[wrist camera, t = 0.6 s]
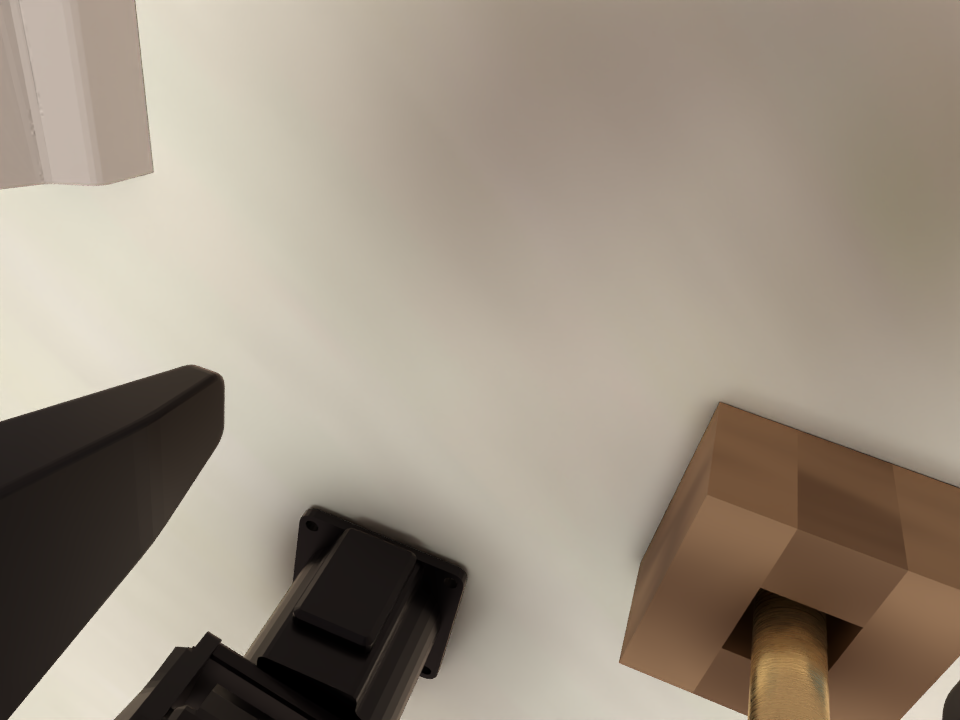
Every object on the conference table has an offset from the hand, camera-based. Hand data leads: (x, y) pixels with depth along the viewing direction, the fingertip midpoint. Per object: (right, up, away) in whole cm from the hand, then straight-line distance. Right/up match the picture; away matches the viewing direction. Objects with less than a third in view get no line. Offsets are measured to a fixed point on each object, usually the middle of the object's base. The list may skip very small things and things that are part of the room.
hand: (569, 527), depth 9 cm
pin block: (+8, -3, +15) cm, 17 cm away
